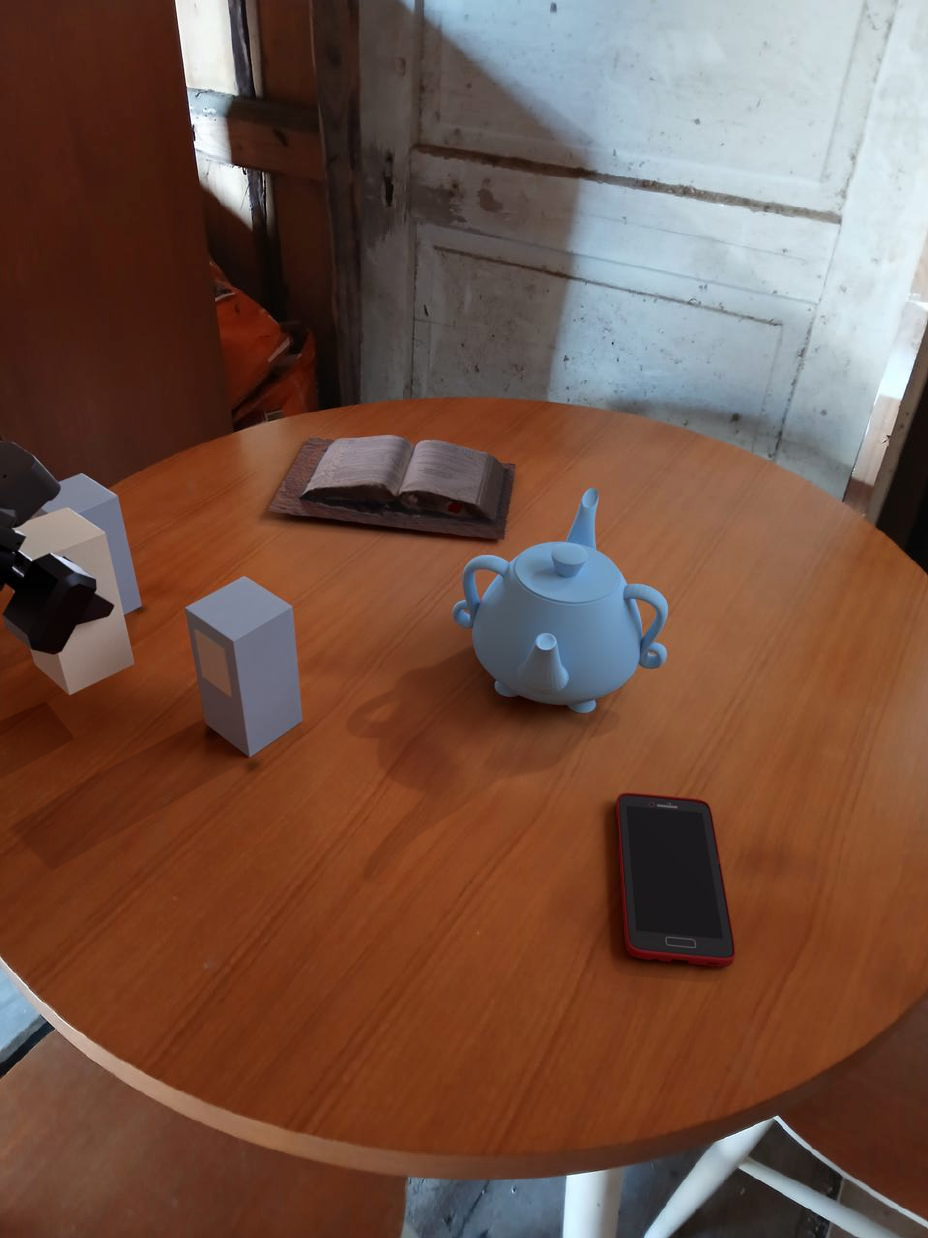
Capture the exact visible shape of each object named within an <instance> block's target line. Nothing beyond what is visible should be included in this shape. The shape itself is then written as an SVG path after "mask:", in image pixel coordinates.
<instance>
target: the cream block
mask: <svg viewBox="0 0 928 1238" xmlns="http://www.w3.org/2000/svg"><path fill="white" fill-rule="evenodd" d="M12 529H14V530H17V531H19V532H21V533H22V534H24V535H25V536H26V539H25V540H24V542H23V544H22V546H21V547H20V549H19V550H20V551H21V552H22V553H24V554H25V555H26V556H28V557H29V558H30V559H32V560H35V559H37V558H39V557H41V556H44V555H46V554H48V553H51V554H54V555H57V556H59V557H63V556H65V557H66V558H68V559H69V560H71V561H72V562H73V563H75V564H76V565H78V566H79V567H80V568H82V569H83V570H84V571H85V572H87V573H88V574H90V575H91V576H92V577H94V578H95V579H96V584H97V590H96V592H95V593H96V594H98V595H100V596H101V597H103V598H105V599H106V600H108V601H109V602H111V603H113V604H114V609H113V610H112V612H111V614H110V615H109V616H108V617H105V618H102V619H98V620H94V621H91V622H87V623H83V624H80V625H76V627H75V629H74V631H73V633H72V634H71V636H70V638H69V640H68V642H67V643H66V645H65V647H64V649H63V650H62V652H60V653H57V654H55V655H52V654H48V653H44V652H39V651H35V650H32V649H31V648H29V650H30V653H31V656H32V660H33V663H34V666H36V667H37V668H38V669H39V670H41V672H43V673H44V674H45V675H46V676H47V677H48V678H49V679H50V680H52V681H53V682H54V683H55V684H56V685H57V686H58V687H59V688H61V689H62V690H63V691H64V692H65V693H66V694H67V695H68V696H71V695H73V694H76V693H78V692H80V691H82V690H84V689H86V688H88V687H90V686H92V685H94V684H97V683H98V682H100V681H102V680H104V679H107V678H109V677H110V676H112V675H115V674H117V673H119V672H121V671H123V670H125V669H127V668H130V667H131V666H133V665H135V664H136V663H135V659H134V654H133V651H132V646H131V641H130V637H129V632H128V628H127V624H126V623H127V622H126V619H125V615H124V614H123V610H122V605H121V601H120V596H119V592H118V587H117V583H116V578H115V574H114V569H113V565H112V560H111V556H110V551H109V547H108V542H107V538H106V534H105V532H103V531H102V530H101V529H99V528H98V527H96V526H95V525H93V524H92V523H90V522H89V521H87V520H86V519H84V518H83V517H81V516H80V515H78V514H77V513H75V512H74V511H72V510H71V509H69V508H68V507H66V508H63V509H60V510H57V511H55V512H52V513H49V514H46V515H43V516H40V517H37V518H34V519H31V520H30V519H29V520H28V521H27V522H26V523H24V524H23V525H22V526H20V527H17V528H12ZM14 565H15V564H14ZM16 567H18V566H16ZM19 569H20V568H19ZM11 591H12V595H13V594H14V593H15V591H14V590H13V589H12V588H11Z"/></svg>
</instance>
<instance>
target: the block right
mask: <svg viewBox="0 0 928 1238" xmlns="http://www.w3.org/2000/svg"><path fill="white" fill-rule="evenodd" d="M184 612H185V618H186V624H187V629H188V634H189V640H190V646H191V651H192V656H193V661H194V668H195V673H196V678H197V683H198V688H199V694H200V700H201V705H202V711H203V718H204V722H205V723H204V724H205V725H206V726H208V727H209V728H211V729H212V730H213V731H215V732H216V733H217V734H219V735H220V736H221V737H222V738H224V739H225V740H226V741H227V742H228V743H230V744H231V745H233V746H234V747H235V748H236V749H238V750H239V751H240V752H241V753H242V754H244V755H246V756H247V757H248V758H252V757H253V756H255V755H256V754H257V753H259V752H260V751H262V750H263V749H264V748H266V747H267V746H269V745H270V744H271V743H273V742H275V741H276V740H278V739H279V738H280V737H282V736H283V735H285V734H286V733H287V732H289V731H290V730H292V729H294V728H295V727H296V726H298V725H299V724H300V723H302V722H303V711H302V699H301V687H300V678H299V677H300V676H299V665H298V654H297V653H298V651H297V642H296V631H295V630H296V629H295V619H294V608H293V605H291V604H289V603H288V602H286V601H285V600H283V599H281V598H280V597H279V596H277V595H275V594H274V593H273V592H271V591H269V590H267V589H265V588H264V587H263V586H261V585H260V584H258V583H256V582H255V581H253V580H252V579H250V578H248V576H247V577H246V575H243V576H241V577H239V578H238V579H236V580H234V581H232V582H230V583H229V584H227V585H224V586H223V587H221V588H219V589H217V590H215V591H214V592H211V593H210V594H208V595H206V596H203V598H201V599H198V600H196V601H195V602H192V603H190V604H189V605H186V606H185V607H184Z"/></svg>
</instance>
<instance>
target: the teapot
mask: <svg viewBox="0 0 928 1238" xmlns="http://www.w3.org/2000/svg"><path fill="white" fill-rule="evenodd" d="M599 497H600V495H599V491H598V489H597V488H594V487H591V488H588V489H587V490H586V491H585V492H584V494H583V495H582V497H581V500H580V501H579V505H578V509H577V512H576V515H575V517H574V520H573V523H572V525H571V528H570V529H569V531H568V534H567V537H566V538H565V541H547V542H542V543H538V544H535V545H533V546H530V547H528V548H526V549H524V550H523V551H522V552H520V553H519V554H518V555H516V556H515V557H514V558H513V559H512V560H510V562H509V561H507V560H506V559H503V558H502V557H500V556H497V555H492V554H482V555H478V556H475V557H473V558H472V559H470V560H469V561H468V562H467V564H466V565H465V567H464V568H463V571H462V575H461V576H462V577H461V583H462V589H463V595H464V599H463V600H459V601H457V602H456V604H455V605H454V606H453V608H452V613H451V614H452V615H451V616H452V619H453V621H454V622H455V623H456V624H457V625H458V626H459V627H461V628H463V629H467V630H470V629H472V633H471V640H472V641H471V642H472V646H473V649H474V652H475V655H476V657H477V659H478V661H479V663H480V664H481V666H482V667H483V668H484V669H485V671H487V673H488V674H489V675H490V676H491V677H492V678H493V679H494V680H495V682H494V690H495V691H496V693H498V694H499V695H501V696H504V697H507V698H508V697H509V698H512V697H518V696H520V697H522V698H525V699H528V700H530V701H534V702H537V703H542V704H548V705H556V706H567V707H568V708H569V709H570V710H571V711H573V712H575V713H580V714H587V713H591V712H592V711H594V710H595V708H596V706H597V703H596V700H598V699H600V698H603V697H605V696H607V695H610V694H611V693H613V692H615V691H617V690H618V689H620V688H622V687H623V686H624V685H625V684H626V683H627V682H628V681H629V680H630V678H632V676H633V675H634V673H635V672H636V671H637V670H638V667H639V666H640V667H642V668H644V669H647V670H655V669H658V668H661V667H662V666H663V665H664V664H665V662H666V660H667V657H668V652H667V648H666V647H665V646H664V645H663V644H662V643H659V642H655V641H656V640H657V638H658V637H659V635H660V634H661V632H662V630H663V629H664V627H665V625H666V622H667V620H668V616H669V615H668V614H669V606H668V602H667V600H666V598H665V597H664V595H663V594H662V593H661V592H660V591H658V590H657V589H656V588H653V587H652V586H650V585H646V584H643V583H629V584H628V582H627V580H626V579H625V577H624V575H623V573H622V572H621V570H619V568H618V567H617V565H616V564H615V562H614V561H612V559H610V558H609V557H608V556H607V555H605V554H604V553H602V552H601V551H599V550H597V543H596V530H595V527H596V525H595V524H596V513H597V508H598V505H599ZM480 570H483V571H485V570H486V571H491V572H493V573H495V574H497V575H496V577H495V578H494V579H493V581H491V583H490V584H489V586H488V587H487V589H486V590H485V592H484V593H483V596H482V598H481V600H480V597H479V594H478V590H477V585H476V580H475V579H476V578H475V573H476V571H480ZM636 600H638V601H642V602H644V603H647V604H649V605H650V606H652V607H653V608H654V610H655V617H654V620H653V622H652V623H651V625H650V627H649V628H648V629H647V631H646V633H645V634H644V636H643V625H642V618H641V613H640V609H639V607H638V604H637V601H636ZM464 610H465V611H467V612H468V613H467V612H465V611H464ZM649 652H650V653H649ZM651 653H654V654H651Z"/></svg>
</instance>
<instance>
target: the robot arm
mask: <svg viewBox="0 0 928 1238" xmlns="http://www.w3.org/2000/svg"><path fill="white" fill-rule="evenodd" d="M59 482H60V481H58V480H57V479H56V478H55V477H54V476H53V474H51V472H49V470H47V468H46V467H45V466H44V465H43V464H42V463H41V462H40V461H39V460H38V459H37V458H36V456H35V455H34V454H32V453H30V452H28V451H27V450H25V449H24V448H23V447H21V446H19V445H18V444H17V443H15V442H13V441H11V440H5V441H2V440H0V594H1V593H2V592H3V590H4V588H5V586H6V585H7V586H8V587H9V588H10V589H11V590H12V589H13V590H14V591H15V593H14V594H13V593H12V596H11V598H10V599H9V601H8V603H7V605H6V607H5V609H4V610H3V612H2V614H1V615H2V618H3V622H4V624H5V627H6V630H8V631H9V632H10V633H11V634H13V635H14V636H15V637H16V638H17V639H18V640H20V641H21V642H22V643H23V644H24V645H26V646H27V647H29V649H30V648H31V649H32V650H35V651H39V652H44V653H48V654H52V655H55V654H57V653H60V652H62V650H63V649H64V647H65V645H66V643H67V642H68V640H69V638H70V636H71V634H72V633H73V631H74V629H75V627H76V625H80V624H83V623H87V622H91V621H94V620H98V619H102V618H105V617H108V616H109V615H110V614H111V612H112V610H113V609H114V604H113V603H111V602H109V601H108V600H106V599H105V598H103V597H101V596H100V595H98V594H96V593H95V592H96V590H97V584H96V579H95V578H94V577H92V576H91V575H90V574H88V573H87V572H85V571H84V570H83V569H82V568H80V567H79V566H78V565H76V564H75V563H73V562H72V561H71V560H69V559H68V558H66V557H65V556H63V557H59V556H57V555H54V554H51V553H48V554H46V555H44V556H41V557H39V558H37V559H35V560H32V559H30V558H29V557H28V556H26V555H25V554H24V553H22V552H21V551H20V550H19V549H20V547H21V546H22V544H23V542H24V540H25V539H26V536H25V535H24V534H22V533H21V532H19V531H17V530H14V529H12V528H17V527H20V526H22V525H23V524H24V523H26V522H27V521H29V520H30V518H31V517H32V516H33V515H34V514H35V513H36V512H37V511H38V510H39V509H40V508H41V507H43V506H44V505H45V504H46V503H47V502H48V501H52V500H53V499H54V498H55V497H56V496H57V495H58V494H59V492H60V490H61V485H60V484H59ZM14 564H15V565H14ZM16 566H18V567H16ZM19 568H20V569H19Z"/></svg>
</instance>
